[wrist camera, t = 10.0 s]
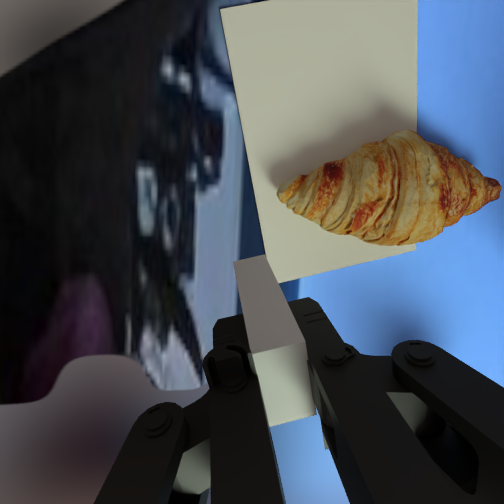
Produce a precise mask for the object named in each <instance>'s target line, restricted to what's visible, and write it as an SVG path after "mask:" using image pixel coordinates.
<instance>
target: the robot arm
mask: <svg viewBox="0 0 504 504" xmlns="http://www.w3.org/2000/svg"><path fill="white" fill-rule="evenodd" d="M233 264H234V269H235V274H236V279H237V285H238V290H239V295H240V300H241V305H242V310H243V314H239V315H235V316H231V317H227V318H222V319H218V320H217V322H216V324H215V326H214V327H213V349H212V350H211V351H209V352H208V354H207V355H206V356H205V357H204V360H203V363H202V366H203V369H204V372H205V376H206V379H207V382H208V385H209V388H210V389H209V390H208V391H207V393H206V394H205V395H204V396H202V397H201V398H200V399H198V400H197V401H195V402H194V403H192V404H190V405H188V406H186V407H184V408H181V407H180V406H179V405H177V404H176V403H172V402H164V403H160V404H156V405H155V406H153V407H151V408H149V409H147V410H146V411H145V412H144V413H142V415H140V416H139V417H138V419H137V420H136V422H135V423H134V425H133V426H132V428H131V430H130V432H129V434H128V436H127V438H126V440H125V442H124V444H123V446H122V448H121V450H120V452H119V454H118V456H117V458H116V460H115V462H114V464H113V466H112V468H111V470H110V472H109V474H108V476H107V478H106V480H105V482H104V484H103V486H102V488H101V490H100V492H99V494H98V496H97V498H96V500H95V502H94V504H206V502H207V498H208V493H209V487H211V504H286V501H285V497H284V492H283V488H282V483H281V478H280V473H279V468H278V464H277V459H276V455H275V450H274V446H273V441H272V436H271V432H270V428H269V427H271V426H274V425H279V424H282V423H286V422H290V421H294V420H298V419H302V418H306V417H310V416H314V415H317V414H316V408H317V410H318V413H319V415H320V418H321V425H322V432H323V439H324V445H325V449H329V450H330V452H331V455H332V458H333V460H334V463H335V466H336V468H337V471H338V473H339V476H340V479H341V481H342V484H343V486H344V489H345V492H346V494H347V497H348V500H349V502H350V504H504V388H503V387H502V386H500V385H499V384H497V383H495V382H494V381H492V380H491V379H489V378H488V377H486V376H484V375H483V374H481V373H480V372H478V371H476V370H475V369H473V368H472V367H470V366H468V365H467V364H465V363H464V362H462V361H460V360H459V359H457V358H456V357H454V356H453V355H451V354H449V353H448V352H446V351H445V350H443V349H441V348H440V347H438V346H436V345H434V344H431V343H429V342H425V341H420V340H408V341H404V342H401V343H399V344H398V345H396V346H395V347H394V348H393V351H392V353H391V355H392V356H370V355H364V354H360V353H359V352H358V351H357V350H356V349H355V348H354V347H353V346H351V345H349V344H347V343H344V342H343V340H342V339H341V337H340V336H339V334H338V333H337V331H336V329H335V328H334V326H333V325H332V323H331V322H330V320H329V319H328V317H327V316H326V314H325V312H323V309H322V308H321V306H320V305H319V303H318V302H316V301H314V300H313V299H311V298H309V297H307V298H303V299H299V300H294V301H290V302H287V301H286V299H285V297H284V295H283V292H282V290H281V288H280V286H279V284H278V282H277V280H276V277H275V275H274V273H273V271H272V269H271V267H270V265H269V262H268V260H267V258H266V256H265V255H261V256H256V257H252V258H248V259H243V260H239V261H235V262H233ZM315 405H316V407H315Z"/></svg>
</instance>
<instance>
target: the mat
mask: <svg viewBox="0 0 504 504" xmlns="http://www.w3.org/2000/svg"><path fill="white" fill-rule="evenodd" d="M220 13H221V18H222V23H223V29H224V34H225V39H226V45H227V50H228V55H229V61H230V66H231V71H232V77H233V82H234V87H235V93H236V98H237V103H238V109H239V114H240V119H241V125H242V130H243V135H244V141H245V146H246V151H247V157H248V162H249V167H250V173H251V178H252V184H253V189H254V194H255V200H256V205H257V210H258V216H259V221H260V226H261V232H262V237H263V242H264V248H265V253H266V258H267V260H268V262H269V265H270V267H271V269H272V271H273V273H274V275H275V277H276V280H277V282H278V283H282V282H286V281H290V280H294V279H298V278H302V277H306V276H311V275H315V274H319V273H323V272H327V271H331V270H336V269H340V268H344V267H348V266H352V265H356V264H360V263H365V262H369V261H373V260H377V259H381V258H385V257H389V256H394V255H398V254H402V253H406V252H410V251H414V250H416V243H414V244H410V245H403V246H397V245H394V246H379V245H376V244H370V243H366V242H364V241H362V240H360V239H359V238H358V237H355V236H352V235H337V234H334V233H331V232H328V231H326V230H324V229H322V228H321V227H320V226H319V225H318V224H316V223H314V222H313V221H310V220H308V219H307V218H304V217H302V216H300V215H297V214H294V213H293V210H292V209H288V208H287V207H286V204H283V203H282V202H280V201H279V199H278V197H277V195H276V194H277V190H278V188H279V186H280V185H281V184H282V183H283V182H285V181H288V180H290V179H292V178H294V177H296V176H298V175H306V174H307V175H308V174H309V173H310V172H311V171H313V170H316V169H317V168H318V167H320V166H322V165H323V164H324V163H327V162H330V161H335V160H340V159H344V158H345V157H347V156H349V155H350V154H351V153H353V152H355V151H357V150H359V149H360V148H361V147H362V144H366V143H371V142H376V141H380V142H381V141H382V140H383V139H385V138H386V137H388V136H389V135H391V134H392V133H393V132H399V131H403V130H411V131H415V132H416V133H417V47H418V0H269V1H263V2H257V3H252V4H246V5H241V6H235V7H229V8H224V9H220Z"/></svg>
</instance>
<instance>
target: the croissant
mask: <svg viewBox="0 0 504 504" xmlns="http://www.w3.org/2000/svg"><path fill="white" fill-rule="evenodd" d="M501 188H502V187H501V185H500V184H499V182H498V181H497V180H495V179H493V178H489V177H484V176H483V175H482V174H481V173H480V171H479V170H478V169H476V168H475V167H473V165H472V164H470V163H469V162H468V161H466V160H464V159H463V158H462V157H461V158H457V157H456V156H455V155H452V154H451V153H450V152H449V151H448V149H447V148H445V147H442V146H440V145H437V144H435V143H432V142H427V141H425V140H424V139H423V138H422V137H421V136H420V135H419V134H417V133H416V132H415V131H411V130H403V131H399V132H393V133H392V134H391V135H389V136H388V137H386V138H385V139H383V140H382V141H381V142H380V141H376V142H371V143H366V144H362V147H361V148H360V149H359V150H357V151H355V152H353V153H351V154H350V155H349V156H347V157H345V158H344V159H340V160H335V161H330V162H327V163H324V164H323V165H322V166H320V167H318V168H317V169H316V170H313V171H311V172H310V173H309V174H308V175H307V174H306V175H298V176H296V177H294V178H292V179H290V180H288V181H285V182H283V183H282V184H281V185H280V186H279V188H278V190H277V194H276V195H277V197H278V199H279V201H280V202H282V203H283V204H286V207H287V208H288V209H292V210H293V213H294V214H297V215H300V216H302V217H304V218H307V219H308V220H310V221H313V222H314V223H316V224H318V225H319V226H320V227H321V228H322V229H324V230H326V231H328V232H331V233H334V234H337V235H352V236H355V237H358V238H359V239H360V240H362V241H364V242H366V243H370V244H376V245H379V246H394V245H397V246H403V245H410V244H414V243H418V242H424V241H426V240H429V239H431V238H433V237H435V236H437V235H438V234H439V233H442V231H443V228H444V227H447V226H451V225H453V224H455V223H457V222H458V221H459V219H460V218H461V217H462V216H463V215H470V214H472V213H475V212H476V211H478V210H479V209H481V208H482V207H483V206H484V205H486V204H487V203H489V202H491V201H494V200H496V199H498V198H499V197H500V191H501Z"/></svg>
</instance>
